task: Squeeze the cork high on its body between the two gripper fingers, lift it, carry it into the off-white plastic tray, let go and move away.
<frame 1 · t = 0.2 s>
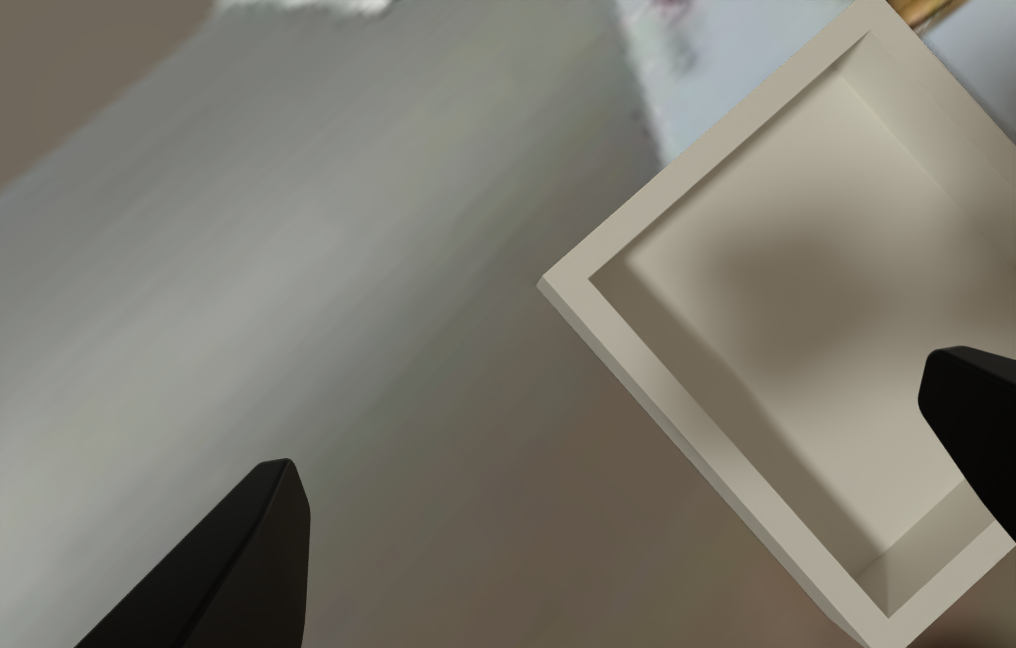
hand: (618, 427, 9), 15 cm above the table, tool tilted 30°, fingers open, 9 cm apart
tray: (823, 323, 24), on the table
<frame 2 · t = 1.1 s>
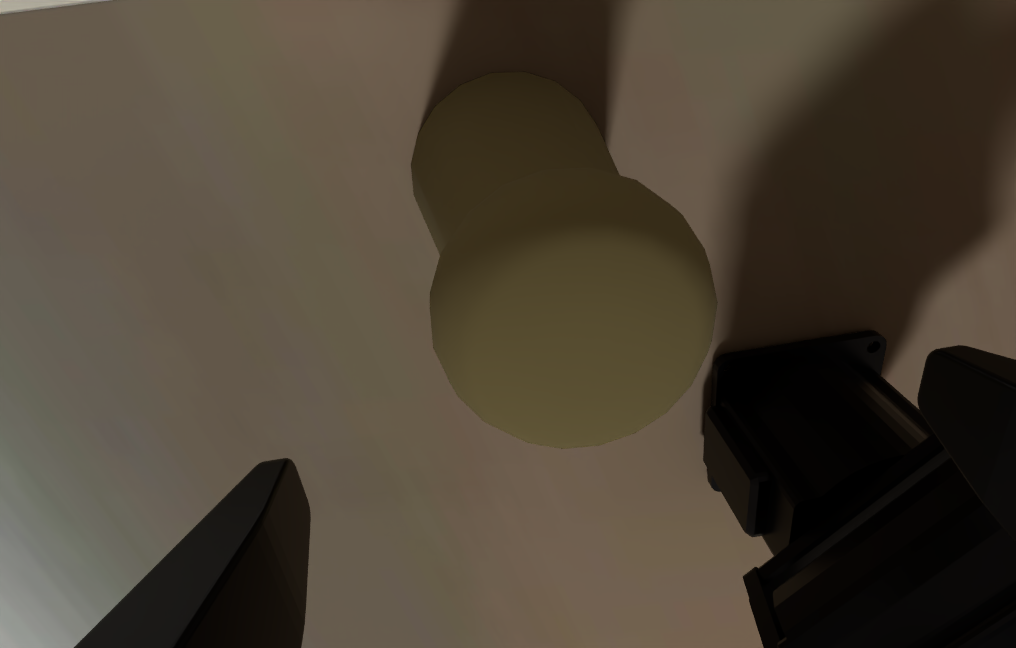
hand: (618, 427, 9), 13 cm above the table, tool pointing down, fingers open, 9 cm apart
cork: (508, 173, 20), on the table
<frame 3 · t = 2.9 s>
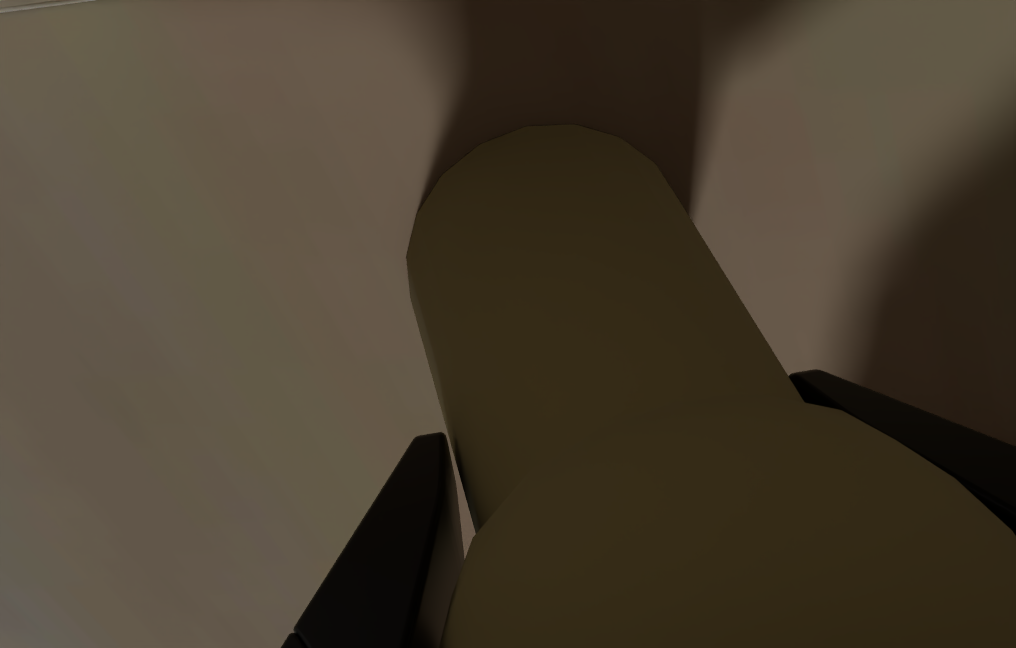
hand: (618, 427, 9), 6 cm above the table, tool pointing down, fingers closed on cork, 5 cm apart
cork: (547, 264, 14), on the table, touching gripper
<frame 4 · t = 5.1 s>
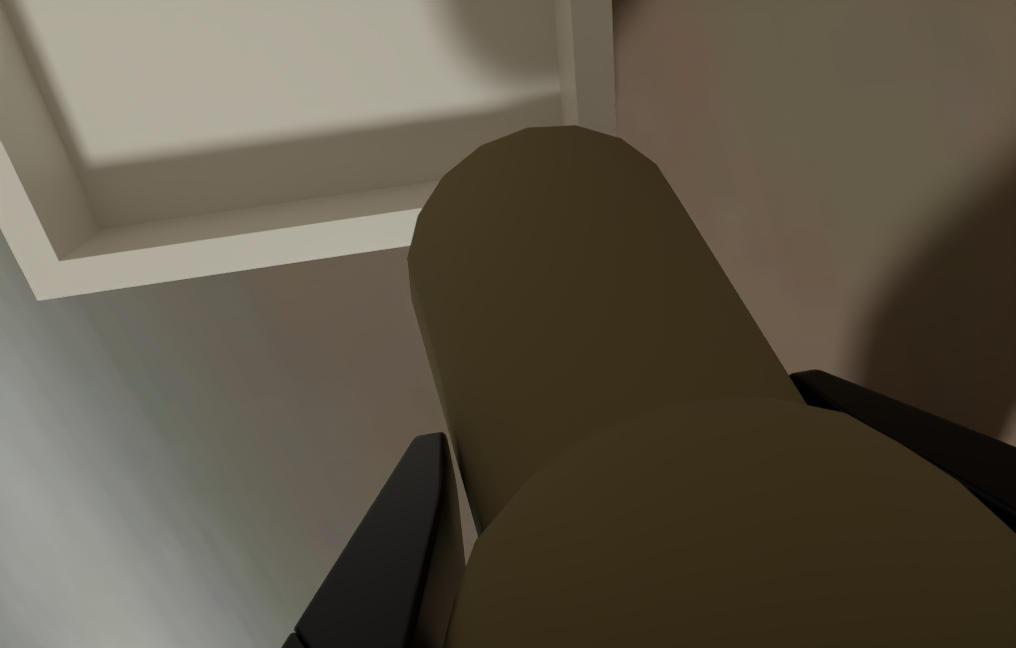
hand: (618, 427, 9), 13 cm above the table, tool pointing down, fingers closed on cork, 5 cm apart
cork: (548, 265, 14), point 8 cm above the table, touching gripper
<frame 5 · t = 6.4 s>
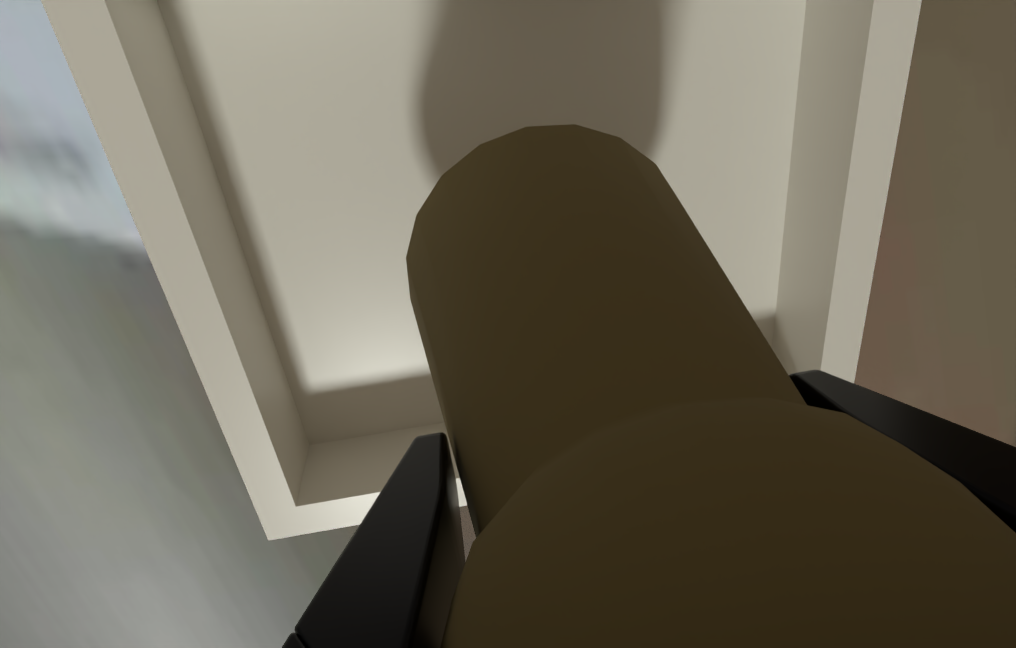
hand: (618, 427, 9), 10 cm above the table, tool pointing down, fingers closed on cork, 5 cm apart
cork: (547, 265, 14), point 4 cm above the table, touching gripper
tray: (517, 202, 17), on the table
when the fingers open (8 cm above the table, at t = 7.4 s): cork drops 1 cm, resting on tray.
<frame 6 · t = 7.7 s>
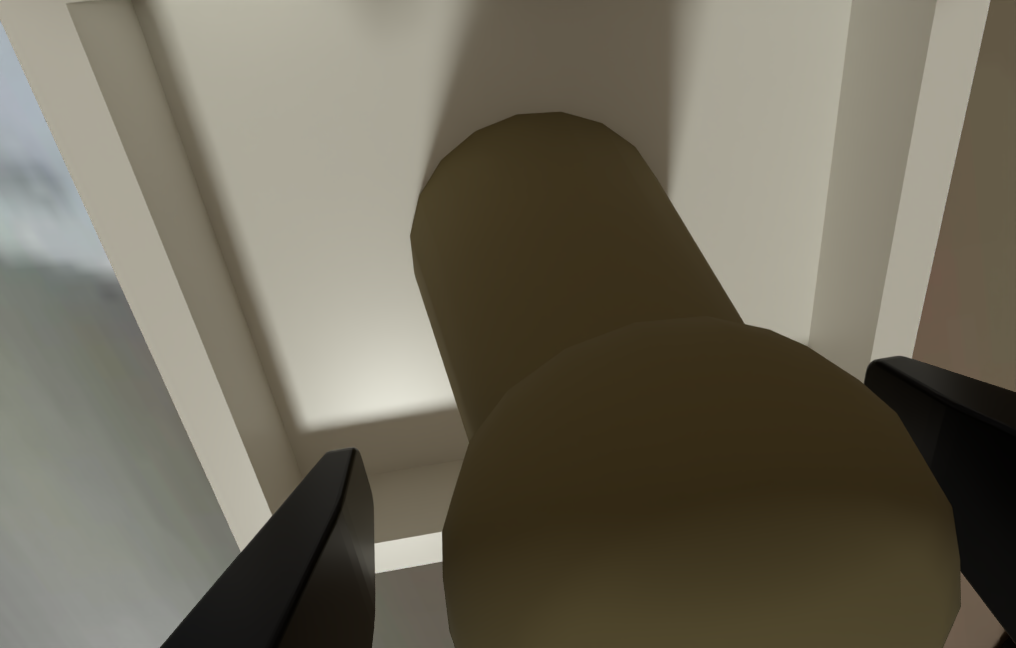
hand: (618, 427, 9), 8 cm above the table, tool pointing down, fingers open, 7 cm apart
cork: (539, 242, 15), point 1 cm above the table, touching tray
tray: (531, 227, 16), on the table
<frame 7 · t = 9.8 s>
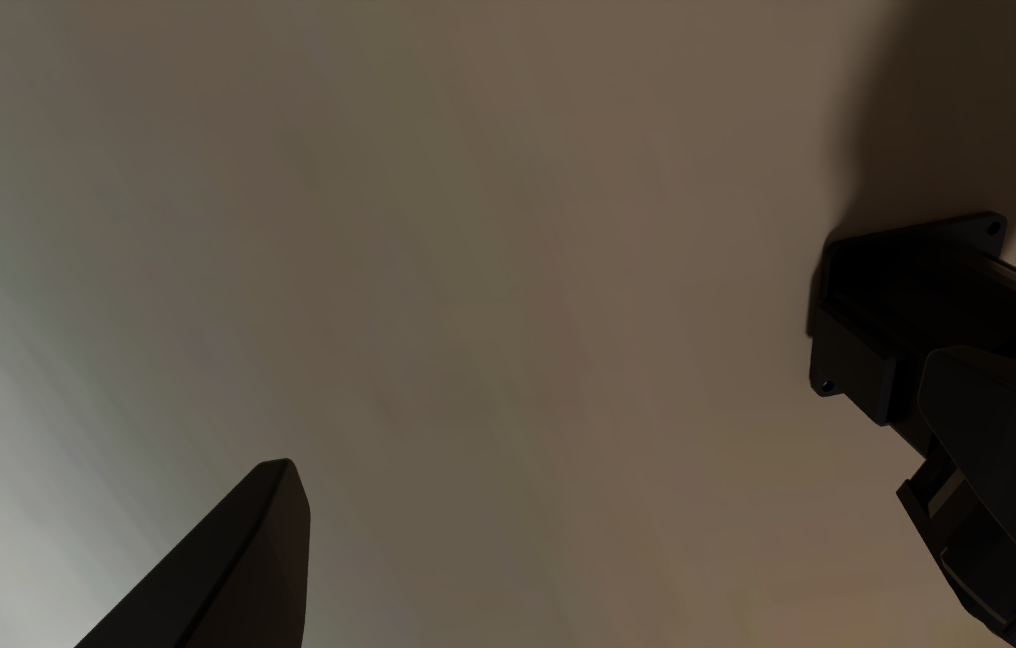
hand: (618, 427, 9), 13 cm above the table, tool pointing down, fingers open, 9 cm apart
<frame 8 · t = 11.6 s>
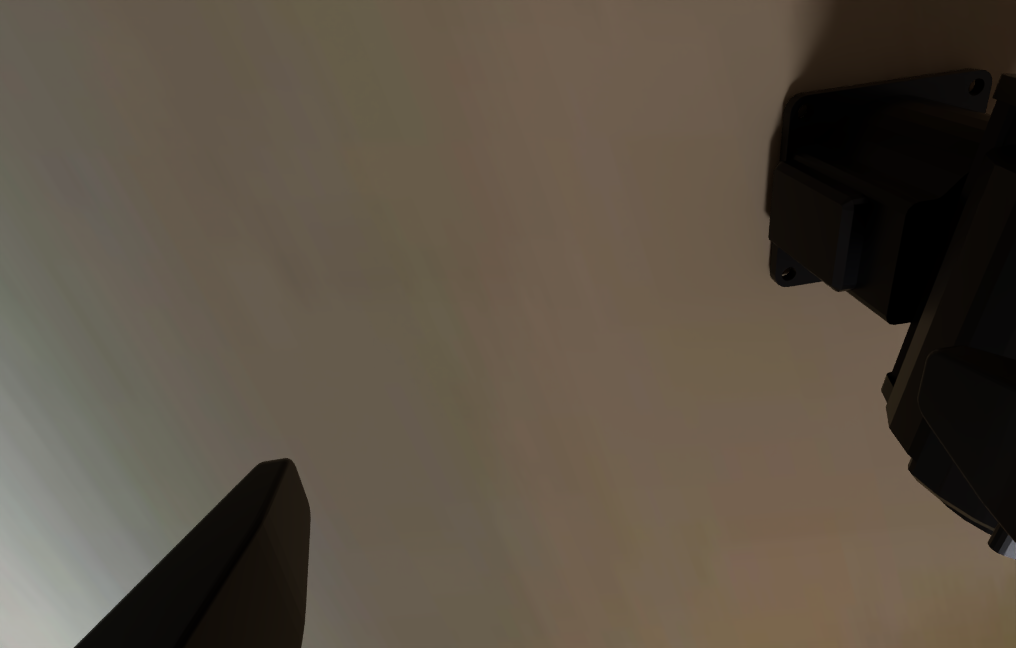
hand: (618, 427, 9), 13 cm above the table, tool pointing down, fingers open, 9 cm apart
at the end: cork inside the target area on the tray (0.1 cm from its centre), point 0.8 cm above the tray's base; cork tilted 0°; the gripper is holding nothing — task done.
